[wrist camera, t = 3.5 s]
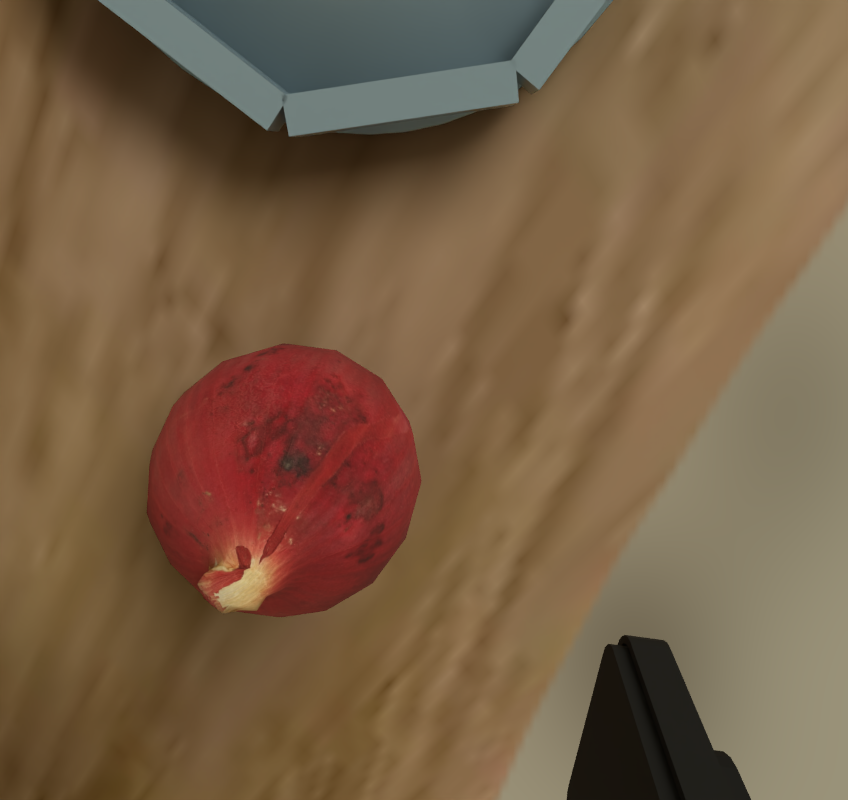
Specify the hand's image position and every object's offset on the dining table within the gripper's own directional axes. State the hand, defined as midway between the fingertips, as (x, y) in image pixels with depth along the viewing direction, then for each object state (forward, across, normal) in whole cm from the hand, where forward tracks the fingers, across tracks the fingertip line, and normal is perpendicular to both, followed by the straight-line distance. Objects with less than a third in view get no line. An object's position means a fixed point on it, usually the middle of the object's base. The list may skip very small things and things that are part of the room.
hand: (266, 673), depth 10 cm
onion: (+10, +1, 0) cm, 10 cm away
